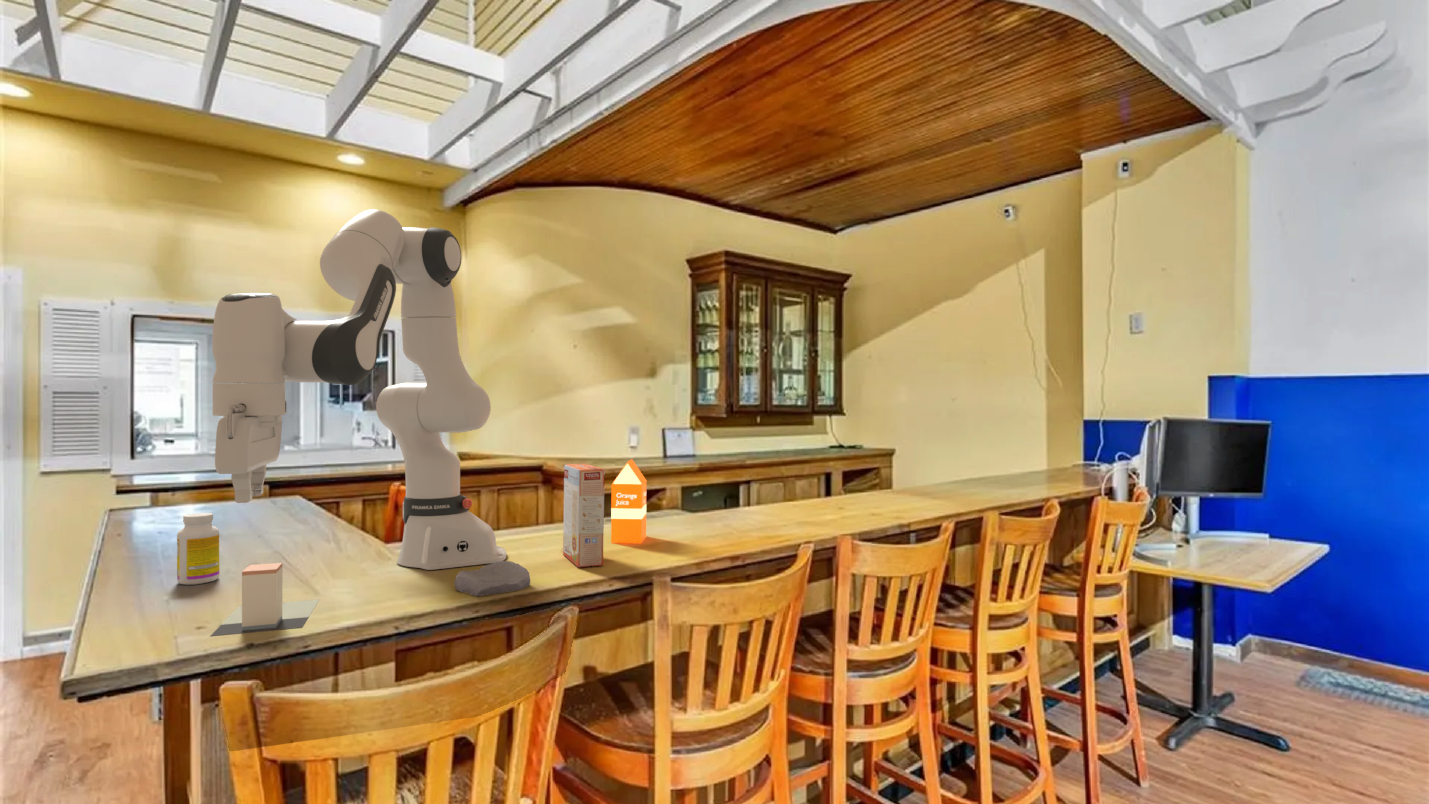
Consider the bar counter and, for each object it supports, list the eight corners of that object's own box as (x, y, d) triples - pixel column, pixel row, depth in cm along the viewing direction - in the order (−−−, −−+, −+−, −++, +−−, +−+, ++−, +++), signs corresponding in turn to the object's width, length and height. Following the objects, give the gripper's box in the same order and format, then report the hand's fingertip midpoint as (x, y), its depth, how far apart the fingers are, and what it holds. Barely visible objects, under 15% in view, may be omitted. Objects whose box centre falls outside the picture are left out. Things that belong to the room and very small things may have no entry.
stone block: (535, 595, 137) (505, 576, 143) (537, 572, 136) (507, 554, 143) (480, 612, 128) (450, 591, 134) (482, 587, 127) (452, 567, 133)
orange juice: (610, 542, 177) (611, 461, 177) (616, 535, 186) (617, 458, 185) (642, 543, 177) (642, 462, 176) (646, 536, 185) (647, 459, 185)
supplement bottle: (227, 578, 140) (228, 512, 140) (195, 587, 134) (195, 518, 134) (201, 575, 142) (201, 511, 142) (168, 584, 136) (168, 516, 136)
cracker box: (605, 566, 153) (605, 468, 153) (577, 569, 150) (577, 469, 150) (588, 552, 166) (588, 462, 165) (562, 555, 163) (562, 463, 163)
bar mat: (319, 601, 125) (319, 599, 125) (302, 630, 110) (302, 627, 110) (239, 608, 121) (239, 605, 121) (210, 638, 106) (210, 636, 106)
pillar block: (282, 618, 115) (282, 562, 114) (276, 627, 110) (276, 569, 110) (249, 621, 113) (249, 564, 113) (241, 630, 109) (242, 571, 109)
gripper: (257, 405, 95) (257, 509, 95) (289, 402, 114) (288, 489, 115) (200, 404, 93) (200, 511, 93) (242, 402, 112) (242, 490, 112)
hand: (249, 499), depth 104 cm, fingers open, 5 cm apart
